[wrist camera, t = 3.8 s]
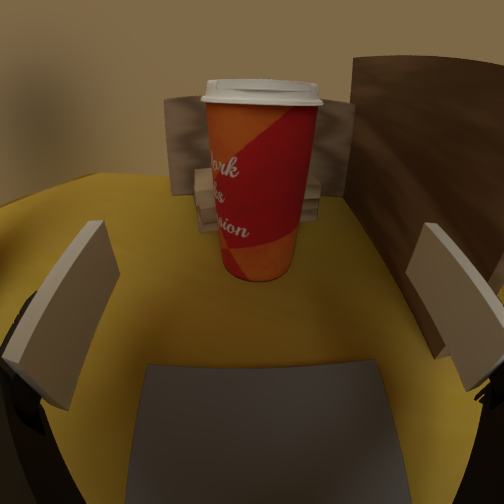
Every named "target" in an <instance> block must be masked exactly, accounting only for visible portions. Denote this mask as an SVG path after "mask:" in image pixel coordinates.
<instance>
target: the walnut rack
mask: <svg viewBox="0 0 504 504" xmlns="http://www.w3.org/2000/svg"><path fill="white" fill-rule="evenodd" d="M201 97H202V96H189V97H177V98H168V99H165V100H164V113H165V128H166V141H167V153H168V163H169V172H170V182H171V191H172V195H193V185H195V169H205V168H212V167H211V157H210V146H209V136H208V124H207V113H206V102H203V101H201ZM320 100H322V101H323V103H324V104H323V105H321V106H318V112H317V119H316V126H315V133H314V140H313V146H312V153H311V159H310V165H309V171H308V172H309V173H310V174H311V175H312V176H313V177H314V178H315V179H316V180H318V181H319V182H320V183H321V184H322V186H321V193H320V196H335V197H343V198H344V199H345V201H346V202H347V204H348V205H349V207H350V208H351V209H352V211H353V212H354V214H355V215H356V217H357V218H358V220H359V221H360V223H361V224H362V226H363V228H364V229H365V231H366V232H367V234H368V235H369V237H370V239H371V240H372V242H373V243H374V245H375V247H376V248H377V250H378V251H379V253H380V255H381V256H382V258H383V260H384V261H385V263H386V265H387V267H388V268H389V270H390V272H391V273H392V275H393V277H394V279H395V280H396V282H397V284H398V286H399V288H400V290H401V291H402V293H403V295H404V297H405V299H406V301H407V303H408V304H409V306H410V308H411V310H412V312H413V314H414V316H415V318H416V320H417V322H418V324H419V326H420V328H421V330H422V332H423V335H424V337H425V339H426V341H427V343H428V345H429V347H430V350H431V352H432V354H433V356H434V359H438V358H441V357H445V356H449V355H450V353H449V351H448V349H447V347H446V345H445V343H444V341H443V339H442V337H441V335H440V333H439V331H438V329H437V327H436V325H435V323H434V321H433V319H432V318H431V316H430V314H429V312H428V310H427V308H426V307H425V305H424V303H423V301H422V299H421V298H420V296H419V294H418V293H417V291H416V289H415V287H414V286H413V284H412V282H411V281H410V279H409V277H408V276H407V274H406V273H405V272H406V270H407V267H408V265H409V263H410V260H411V258H412V255H413V252H414V250H415V247H416V245H417V242H418V239H419V236H420V234H421V231H422V228H423V225H424V223H437V224H438V225H439V226H440V227H441V228H442V230H443V231H444V232H445V233H446V234H447V235H448V236H449V237H450V238H451V239H452V241H453V242H454V243H455V244H456V245H457V246H458V247H459V249H460V250H461V251H462V252H463V253H464V255H465V256H466V257H467V258H468V259H469V261H470V262H471V263H472V264H473V266H474V267H475V268H476V269H477V271H478V272H479V273H480V275H481V276H482V277H483V278H484V280H485V281H486V282H487V284H488V285H489V287H490V288H491V289H492V291H493V292H494V293H495V294H496V295H497V294H498V292H499V290H500V289H501V287H502V285H503V284H504V66H503V65H498V64H493V63H487V62H481V61H475V60H468V59H460V58H450V57H437V56H411V55H409V56H408V55H407V56H406V55H405V56H404V55H403V56H402V55H398V56H371V57H358V58H353V70H352V84H351V96H350V103H347V102H340V101H332V100H324V99H320Z"/></svg>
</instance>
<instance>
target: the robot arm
mask: <svg viewBox="0 0 504 504" xmlns="http://www.w3.org/2000/svg"><path fill="white" fill-rule="evenodd" d="M405 273H406V274H407V276H408V277H409V279H410V281H411V282H412V284H413V286H414V287H415V289H416V291H417V293H418V294H419V296H420V298H421V299H422V301H423V303H424V305H425V307H426V308H427V310H428V312H429V314H430V316H431V318H432V319H433V321H434V323H435V325H436V327H437V329H438V331H439V333H440V335H441V337H442V339H443V341H444V343H445V345H446V347H447V349H448V351H449V353H450V356H451V358H452V360H453V362H454V364H455V367H456V369H457V371H458V373H459V376H460V378H461V380H462V383H463V385H464V388H465V390H466V392H468V391H470V390H473V389H475V388H477V387H479V386H480V385H481V384H482V383H483V382H484V381H485V380H487V379H488V378H489V379H490V381H491V382H490V383H488V384H487V385H486V386H485V387H484V388H483V389H482V390H481V391H480V392H479V393H478V394H477V395H476V396H475V398H474V400H475V401H476V400H477V399H478V398H480V397H481V396H482V395H483V394H485V395H484V396H483V397H482V398H481V399H480V400H479V402H480V403H482V404H483V407H482V412H481V417H480V422H479V426H478V430H477V434H476V438H475V442H474V445H473V449H472V452H471V455H470V459H469V462H468V465H467V468H466V470H465V473H464V476H463V479H462V481H461V484H460V486H459V489H458V491H457V494H456V496H455V498H454V501H453V503H452V504H504V305H502V302H501V301H500V300H499V298H498V297H497V295H496V294H495V293H494V292H493V291H492V289H491V288H490V287H489V285H488V284H487V282H486V281H485V280H484V278H483V277H482V276H481V275H480V273H479V272H478V271H477V269H476V268H475V267H474V266H473V264H472V263H471V262H470V261H469V259H468V258H467V257H466V256H465V255H464V253H463V252H462V251H461V250H460V249H459V247H458V246H457V245H456V244H455V243H454V242H453V241H452V239H451V238H450V237H449V236H448V235H447V234H446V233H445V232H444V231H443V230H442V228H441V227H440V226H439V225H438V224H437V223H424V225H423V228H422V231H421V234H420V236H419V239H418V242H417V245H416V247H415V250H414V252H413V255H412V258H411V260H410V263H409V265H408V267H407V270H406V272H405ZM119 276H120V271H119V268H118V265H117V262H116V259H115V256H114V253H113V250H112V246H111V243H110V240H109V236H108V233H107V229H106V226H105V222H104V220H96V221H88V222H87V223H86V225H85V226H84V227H83V228H82V230H81V231H80V232H79V233H78V235H77V236H76V237H75V239H74V240H73V241H72V242H71V244H70V245H69V246H68V248H67V249H66V250H65V252H64V253H63V255H62V256H61V257H60V259H59V260H58V262H57V263H56V264H55V266H54V267H53V269H52V270H51V272H50V273H49V275H48V276H47V277H46V279H45V281H44V282H43V284H42V285H41V287H40V288H39V290H38V291H35V292H34V293H33V294H32V295H31V296H30V297H29V298H28V299H27V300H26V301H25V303H24V305H23V306H22V308H21V310H20V311H19V314H18V315H17V317H16V318H15V320H14V324H12V326H11V327H10V329H9V331H8V333H7V335H6V337H5V339H4V341H3V343H2V345H1V347H0V504H86V502H85V500H84V499H83V497H82V495H81V493H80V492H79V490H78V488H77V486H76V484H75V482H74V480H73V478H72V476H71V474H70V472H69V470H68V468H67V466H66V464H65V462H64V460H63V458H62V455H61V453H60V451H59V448H58V446H57V444H56V441H55V439H54V436H53V433H52V431H51V428H50V425H49V422H48V420H47V417H46V414H45V410H44V408H43V407H42V405H41V404H40V400H41V397H42V398H43V399H44V400H45V401H46V402H48V403H49V404H50V405H51V406H54V407H57V408H60V409H63V410H66V411H69V407H70V404H71V400H72V397H73V394H74V390H75V387H76V384H77V381H78V378H79V375H80V372H81V369H82V366H83V363H84V360H85V358H86V355H87V352H88V349H89V347H90V344H91V341H92V339H93V336H94V334H95V331H96V329H97V326H98V324H99V321H100V319H101V316H102V314H103V312H104V309H105V307H106V305H107V302H108V300H109V298H110V296H111V293H112V291H113V289H114V287H115V285H116V282H117V280H118V278H119Z"/></svg>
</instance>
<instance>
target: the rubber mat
mask: <svg viewBox="0 0 504 504" xmlns="http://www.w3.org/2000/svg"><path fill="white" fill-rule="evenodd" d="M125 504H411V497H410V491H409V486H408V481H407V475H406V470H405V466H404V461H403V456H402V452H401V448H400V443H399V439H398V435H397V431H396V427H395V423H394V420H393V416H392V412H391V409H390V405H389V401H388V398H387V395H386V391H385V388H384V385H383V381H382V378H381V375H380V372H379V369H378V365H377V362H376V359H369V360H361V361H354V362H346V363H336V364H326V365H315V366H301V367H283V368H199V367H181V366H167V365H156V364H147V368H146V372H145V377H144V382H143V386H142V391H141V396H140V401H139V407H138V412H137V418H136V423H135V429H134V435H133V442H132V448H131V455H130V463H129V470H128V479H127V488H126V498H125Z"/></svg>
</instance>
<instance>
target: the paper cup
mask: <svg viewBox="0 0 504 504" xmlns="http://www.w3.org/2000/svg"><path fill="white" fill-rule="evenodd" d="M201 101H203V102H206V113H207V124H208V136H209V146H210V157H211V167H212V177H213V187H214V196H215V204H216V213H217V221H218V229H219V237H220V244H221V251H222V257H223V262H224V265H225V267H226V269H227V270H228V271H229V272H230V273H231V274H232V275H233V276H235V277H237V278H239V279H242V280H246V281H251V282H266V281H271V280H274V279H276V278H279V277H280V276H282V275H283V274H285V273H286V271H287V270H288V269H289V266H290V263H291V260H292V256H293V251H294V247H295V242H296V237H297V232H298V227H299V222H300V217H301V211H302V206H303V200H304V195H305V189H306V183H307V177H308V171H309V165H310V159H311V153H312V146H313V140H314V133H315V126H316V119H317V112H318V106H321V105H323V104H324V103H323V101H322V100H320V99H319V92H318V86H317V84H315V83H306V82H296V81H283V80H270V79H224V80H223V79H222V80H209V81H208V82H207V87H206V94H205V96H202V97H201Z"/></svg>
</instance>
